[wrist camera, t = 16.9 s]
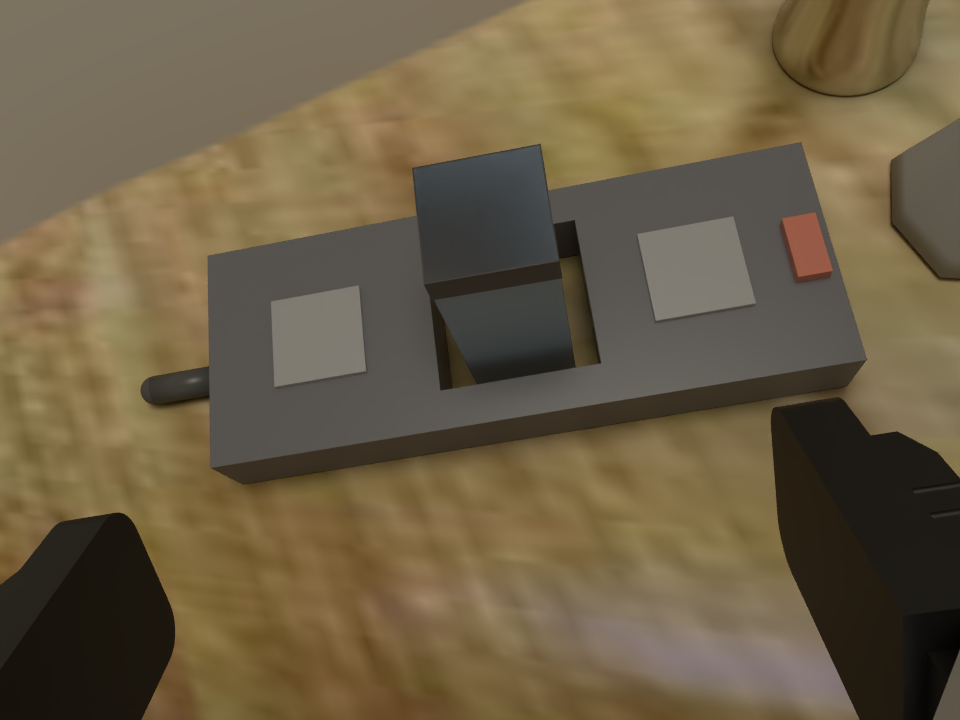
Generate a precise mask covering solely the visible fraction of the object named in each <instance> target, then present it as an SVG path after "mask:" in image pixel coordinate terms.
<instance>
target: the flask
mask: <svg viewBox="0 0 960 720" xmlns="http://www.w3.org/2000/svg"><path fill="white" fill-rule="evenodd" d="M891 183H892V223H893V224H894V225H895V227H896V228H897V229H898V230H899V231H900V232H901V233H902V235H903V236H904V237H905V238H906V239H907V240H908V241H909V243H910V244H911V245H912V246H913V247H914V248H915V249H916V251H917V252H918V253H919V254H920V255H921V256H922V257H923V259H924V260H925V261H926V262H927V263H928V264H929V265H930V267H931V268H932V269H933V270H934V271H935V272H936V273H937V274H938V276H939V277H942V278H959V279H960V118H959V119H957V120H956V121H954V122H953V123H951V124H950V125H948V126H946V127H945V128H943V129H941V130H940V131H938V132H936V133H935V134H933V135H931V136H930V137H928V138H926V139H925V140H923V141H921V142H920V143H918V144H916V145H915V146H913V147H911V148H909V149H908V150H906V151H905V152H903V153H902V154H900V155H898V156H897V157H895V158H894V159H892V160H891Z"/></svg>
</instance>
